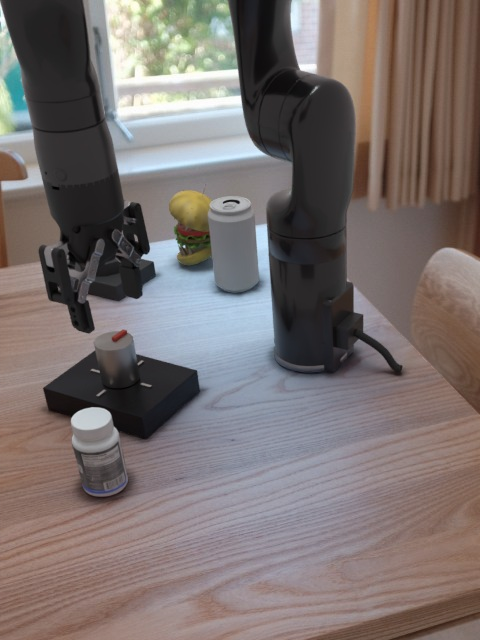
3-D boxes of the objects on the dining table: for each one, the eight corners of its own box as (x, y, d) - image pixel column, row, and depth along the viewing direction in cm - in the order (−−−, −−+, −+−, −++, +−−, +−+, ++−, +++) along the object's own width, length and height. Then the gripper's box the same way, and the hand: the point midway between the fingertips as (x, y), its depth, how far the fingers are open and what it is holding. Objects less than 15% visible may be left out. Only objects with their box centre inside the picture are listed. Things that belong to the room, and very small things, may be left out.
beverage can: (262, 275, 133) (257, 194, 125) (255, 295, 128) (249, 212, 121) (220, 274, 134) (212, 193, 126) (211, 294, 129) (202, 211, 121)
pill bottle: (86, 471, 97) (70, 405, 92) (130, 469, 97) (117, 403, 92) (80, 499, 93) (63, 432, 88) (126, 497, 94) (112, 429, 88)
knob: (124, 392, 103) (116, 351, 100) (93, 383, 105) (85, 342, 102) (147, 374, 106) (140, 333, 103) (117, 365, 108) (109, 325, 105)
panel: (200, 391, 109) (197, 368, 107) (146, 439, 101) (141, 416, 99) (106, 365, 114) (102, 343, 112) (48, 409, 106) (42, 386, 104)
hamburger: (186, 250, 140) (176, 172, 133) (230, 253, 139) (223, 175, 131) (169, 271, 134) (157, 191, 127) (215, 275, 133) (207, 194, 126)
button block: (156, 275, 134) (152, 249, 131) (118, 300, 127) (113, 274, 125) (96, 261, 137) (91, 236, 135) (57, 285, 131) (51, 259, 129)
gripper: (95, 139, 97) (123, 280, 107) (-1, 186, 87) (41, 335, 98) (152, 149, 94) (175, 292, 104) (60, 199, 84) (95, 351, 95)
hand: (110, 313), depth 101 cm, fingers open, 8 cm apart
